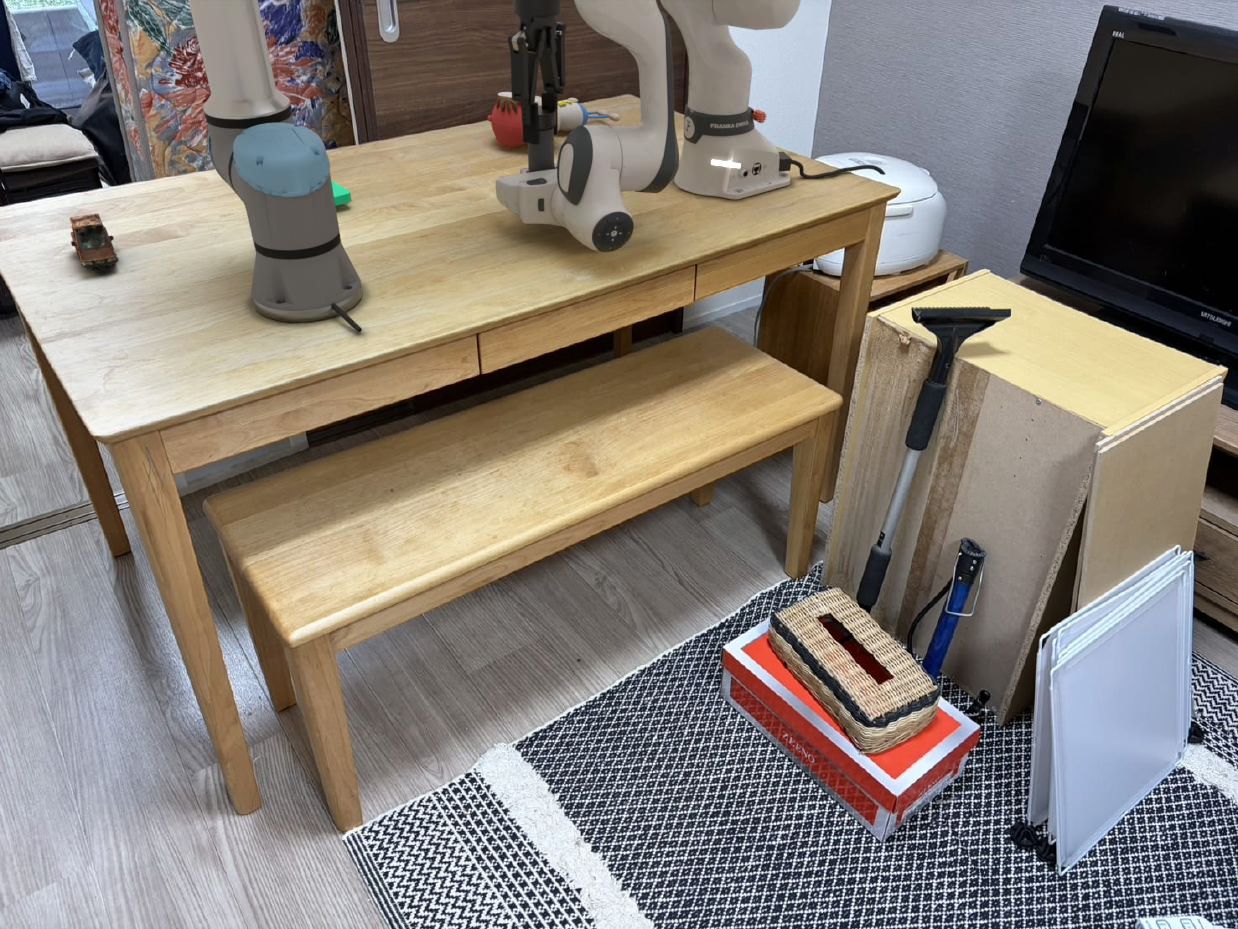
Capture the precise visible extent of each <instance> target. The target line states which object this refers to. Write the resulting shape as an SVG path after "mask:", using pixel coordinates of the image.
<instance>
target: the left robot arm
mask: <svg viewBox="0 0 1238 929" xmlns="http://www.w3.org/2000/svg"><path fill="white" fill-rule="evenodd" d="M187 2H188V6H189V9H190V14H191V17H192V21H193V26H194V30H195V34H196V38H197V42H198V45H199V49H200V54H201V57H202V58H201V59H202V62H203V65H204V69H205V70H204V71H205V74H206V78H207V82H208V85H209V89H210V96H208V97H209V98H207V100H206V101H205V103H204V104H203V106H202V109H203V114H204V117H205V122H206V125H207V129H208V134H207V150H208V155H209V158H210V162H211V163H212V167H213V168H214V170H215V171H216V173H217V174H218V175H219V177H220V178H221V179H222V180H223V181H224V182H225V183H226V185H228V186H229V187H230V188H231V190H232V191H234V193H235V194H236V196H237V197H238V198H239V199H240V200H241V202H242V203H243V206H244V208H245V211H246V215H247V219H248V220H247V221H248V223H249V228H250V233H251V237H252V242H253V247H254V251H255V258H254V264H253V273H252V283H251V291H250V294H251V299H252V303H253V307H254V309H255V310H256V311H257V313H259V314H260V315H262V316H264V317H266V318H268V319H271V320H275V321H281V322H289V323H304V322H314V321H315V322H316V321H320V320H326V319H330V318H332V317H336V316H338V315H339V317H341V318H342V319H343V320H344V321H345V322H346V323H347V324H348V325H349V326H350V327H351V328H352V329H353V330H355V332H356V333H358V334H360V333H362V332H363V328H362V327H361V325H359V324H358V323H356V321H355V320H354V319H352V317H350V316H349V315H348V314H347V313H346V312H348V311H349V310H351V309H353V308H354V307H355V306H356V305H357V304H358V303H359V302H360V301H361V298H362V297H363V287H362V282H361V278H360V276H359V274H358V272H357V270H356V268H355V266H354V264H353V263H352V261H351V259H350V257H349V255H348V253H347V251H346V250H345V248H344V245H343V243H342V239H341V233H340V225H339V220H338V214H337V207H336V206H335V200H334V194H333V188H332V182H331V181H332V177H331V162H330V158H329V156H328V153H327V150H326V146H325V144H324V143H325V142H324V141H323V139H322V138H321V137H320V135H318V133H317V132H315V131H313V130H311V129H310V128H308V127H305V126H302V125H298V126H297V125H296V124H295V119H294V114H293V109H292V105H291V104H292V103H291V100H290V98H289V97H288V96H286V95H285V94H283V93H282V92H281V91H279V89H278V88H277V86H276V82H275V77H274V72H273V67H272V63H271V56H270V53H269V47H268V43H267V38H266V34H265V29H264V24H263V19H262V14H261V11H260V10H261V9H260V5H259V4H260V3H259V0H187ZM512 9H513V12H514V14H516V15H517V16H518V17H519V25H518V29H517V30H518V32H517V33H516V34H515V35H508V37H507V43H508V44H507V45H508V48H509V52H510V80H511V84H510V85H511V92H512V100H513V101H516V102H520V103H521V114H522V124H523V142H526V143H527V144H528V143H530V144H535V145H537V144H539V120H538V103H534V102H535V96H536V93H537V86H538V84H537V83H538V75H539V68H540V72H541V78H542V85H543V90H544V92H542V93H540V97H541V104H542V106H548V107H552V108H554V109H555V110H556V124H555V126H553V127H554V135H555V137H556V136H558V135H559V131H558V102H559V98H558V96H559V95H563V94H564V93H565V89H564V88H565V86H566V85H567V84H566V83H567V81H566V80H567V79H566V75H567V74H566V34H567V23H565V22H558V21H557V17H556V16H559V15H560V14H561V12H562V0H512Z"/></svg>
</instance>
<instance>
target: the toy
mask: <svg viewBox="0 0 1238 929" xmlns="http://www.w3.org/2000/svg"><path fill="white" fill-rule="evenodd" d="M497 96H498V97H497V99H496V104H494V107H493V109H492V112H491V114H489V115H487V121H488V122H490V125H491V129H492V132H493V135H494V137H495V139H496V141H497V142H498V144H499V145H500V146H501V147H504V148H514V147H516V148H517V147H520V146H523V145H526V144H527V145H528V143H526V142H523V124H522V114H521V103H520V102H516V101H513V100H512V91H502V92H501V91H500V92H498V93H497ZM534 103H538V106H542V104H541V96H539V95H535V102H534ZM605 118H606V119H607V118H608V119H609V120H610V121H613V122H615V123H617V122H619V121H620V119H621V118H620V115H619V114H618V113H615V112H611V113H608V111H607V110H606V109H597V111H588V110H587V109H586V107H584V105H582V104H581V103H579V99H577V97H569V98H568V99H563V100H558V132H559V131H562V132H569V131H570V132H572V131H573V130H574V129H575V128H576V127H578V126H586V124H587V123H588V121H589V119H605ZM555 137H556V136H555V135H554V138H555Z"/></svg>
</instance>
